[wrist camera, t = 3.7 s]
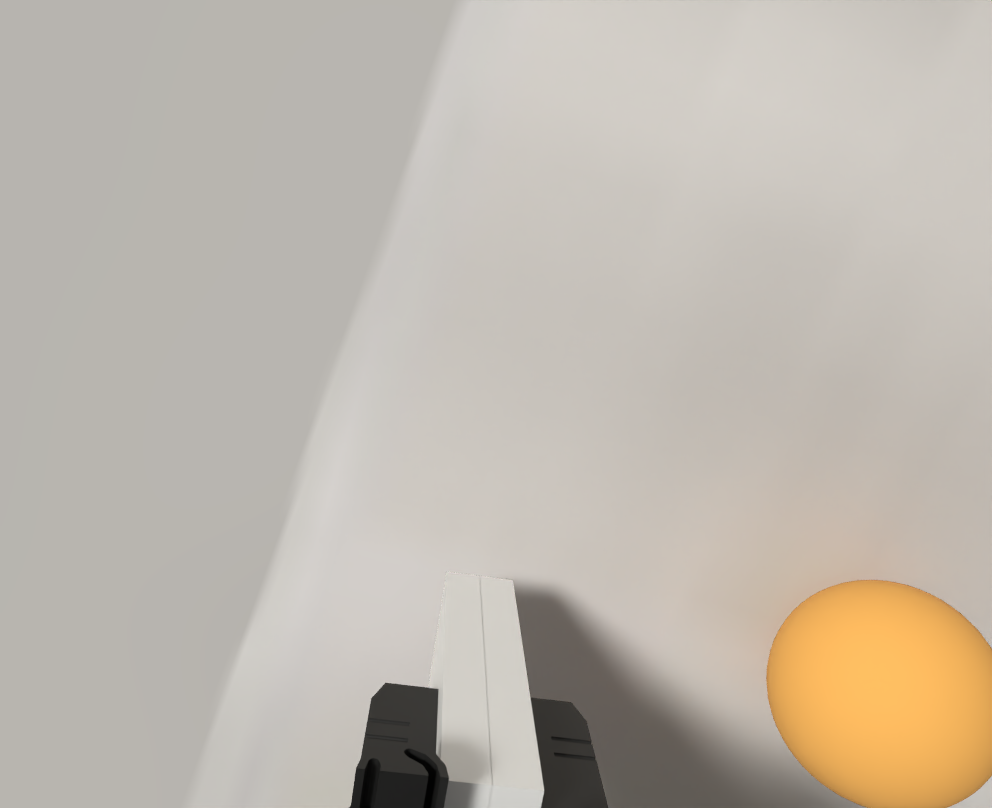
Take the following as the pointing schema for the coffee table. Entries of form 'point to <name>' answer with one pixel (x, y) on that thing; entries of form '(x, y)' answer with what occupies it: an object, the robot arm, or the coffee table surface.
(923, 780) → the ball
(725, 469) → the coffee table surface
